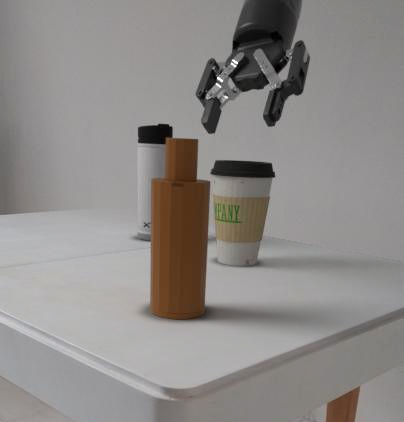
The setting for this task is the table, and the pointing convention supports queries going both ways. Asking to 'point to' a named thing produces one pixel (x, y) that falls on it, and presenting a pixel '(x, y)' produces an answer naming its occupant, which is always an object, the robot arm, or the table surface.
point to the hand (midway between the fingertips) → (237, 126)
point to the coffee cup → (240, 208)
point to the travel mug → (150, 170)
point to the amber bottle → (179, 234)
